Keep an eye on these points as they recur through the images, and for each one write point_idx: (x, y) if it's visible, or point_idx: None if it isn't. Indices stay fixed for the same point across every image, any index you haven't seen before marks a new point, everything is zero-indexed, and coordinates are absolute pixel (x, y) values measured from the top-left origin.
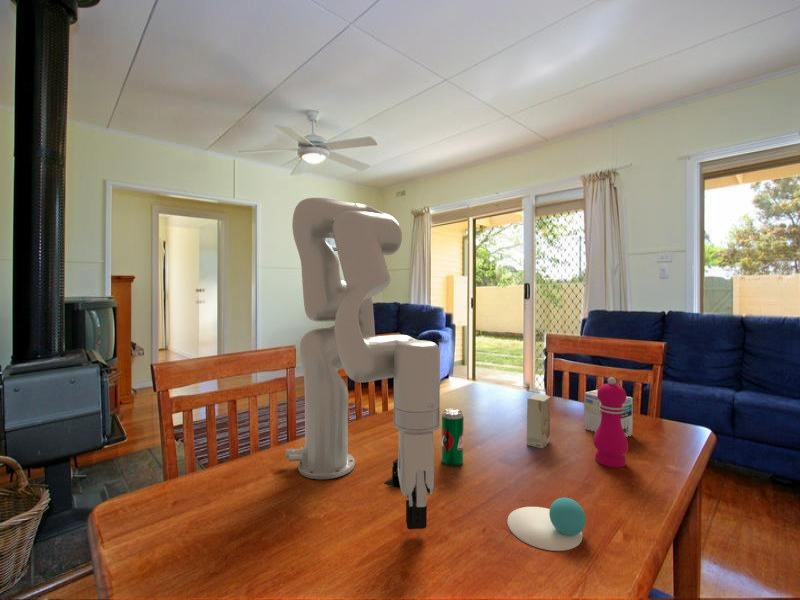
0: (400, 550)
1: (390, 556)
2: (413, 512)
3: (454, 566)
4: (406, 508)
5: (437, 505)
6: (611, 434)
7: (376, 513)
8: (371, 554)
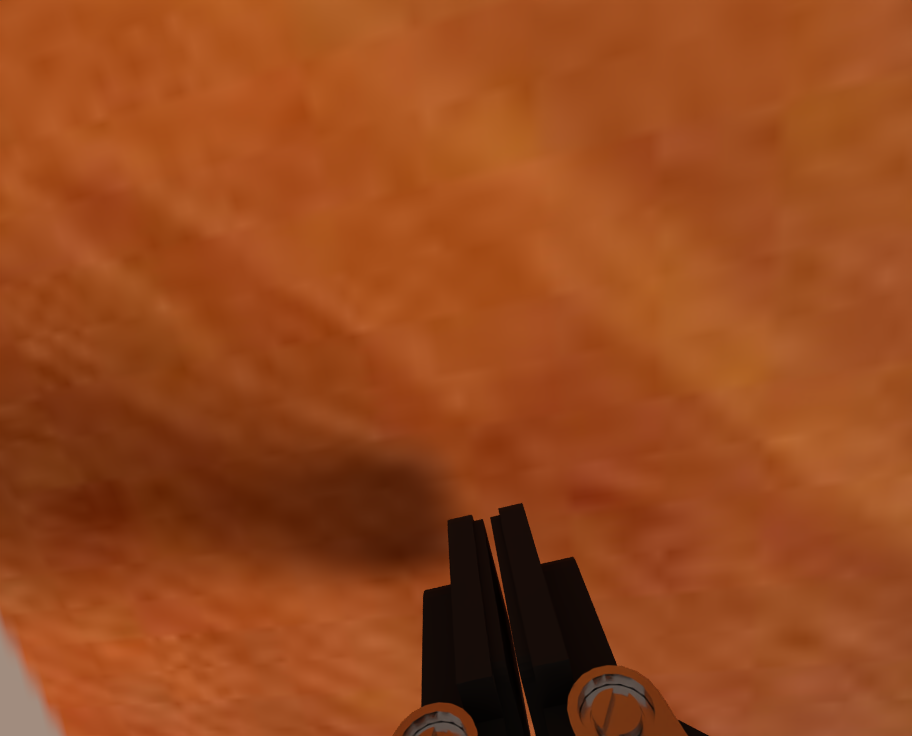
0: (309, 453)
1: (231, 401)
2: (425, 689)
3: (251, 723)
4: (521, 603)
5: (828, 610)
6: None
7: (750, 191)
8: (212, 264)
